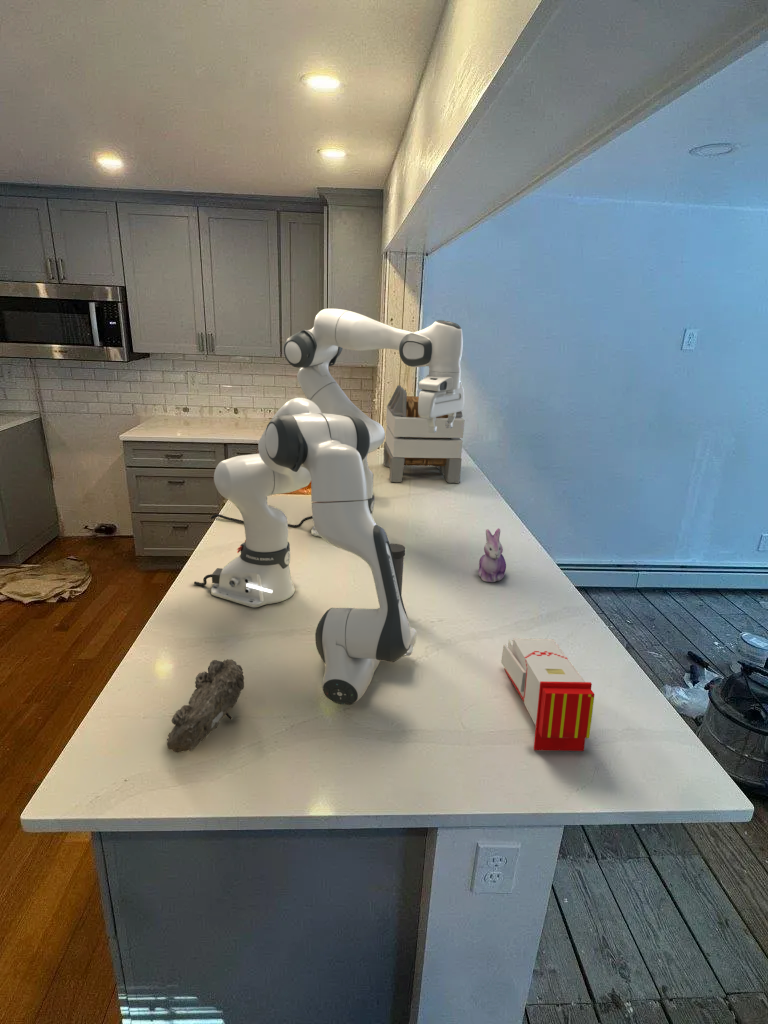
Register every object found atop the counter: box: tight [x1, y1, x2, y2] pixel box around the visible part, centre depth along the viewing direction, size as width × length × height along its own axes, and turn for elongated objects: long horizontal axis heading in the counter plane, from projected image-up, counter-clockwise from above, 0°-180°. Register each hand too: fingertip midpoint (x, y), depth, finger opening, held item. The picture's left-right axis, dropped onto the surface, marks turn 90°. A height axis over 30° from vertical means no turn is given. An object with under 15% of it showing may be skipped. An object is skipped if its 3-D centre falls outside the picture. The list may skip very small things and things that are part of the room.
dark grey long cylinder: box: [393, 556, 405, 595], centre depth 145 cm, size 5×5×18 cm
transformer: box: [383, 384, 465, 484], centre depth 268 cm, size 34×33×41 cm
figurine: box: [477, 527, 507, 583], centre depth 168 cm, size 9×10×15 cm
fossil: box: [166, 658, 245, 754], centre depth 106 cm, size 22×10×15 cm
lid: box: [390, 543, 406, 559], centre depth 142 cm, size 5×5×2 cm
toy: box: [500, 637, 595, 752], centre depth 114 cm, size 12×13×30 cm
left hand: (379, 617), depth 135 cm, fingers open, 8 cm apart
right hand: (440, 430), depth 164 cm, fingers open, 8 cm apart
